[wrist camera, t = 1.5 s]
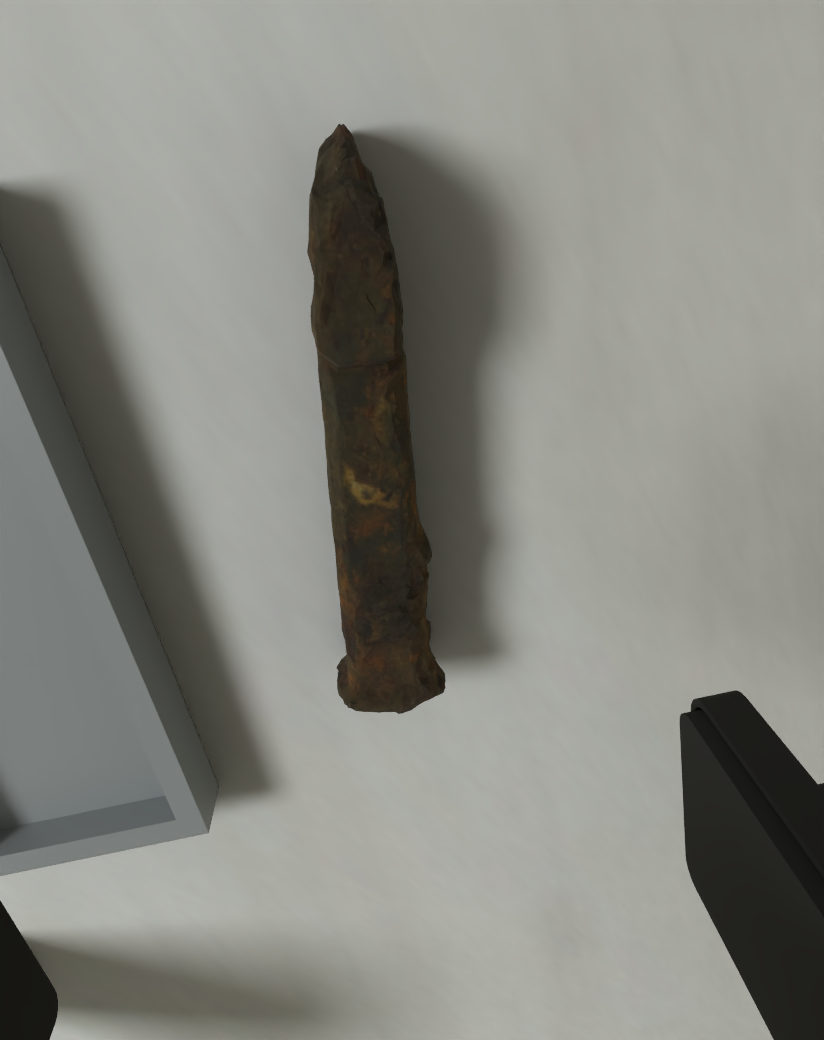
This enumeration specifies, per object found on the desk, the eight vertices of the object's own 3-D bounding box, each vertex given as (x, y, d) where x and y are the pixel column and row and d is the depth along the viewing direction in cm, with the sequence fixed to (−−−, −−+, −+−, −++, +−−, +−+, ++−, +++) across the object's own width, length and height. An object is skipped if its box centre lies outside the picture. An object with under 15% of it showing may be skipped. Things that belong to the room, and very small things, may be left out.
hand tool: (436, 653, 29) (452, 729, 25) (338, 660, 29) (337, 738, 25) (433, 131, 22) (454, 114, 18) (300, 133, 22) (290, 116, 17)
